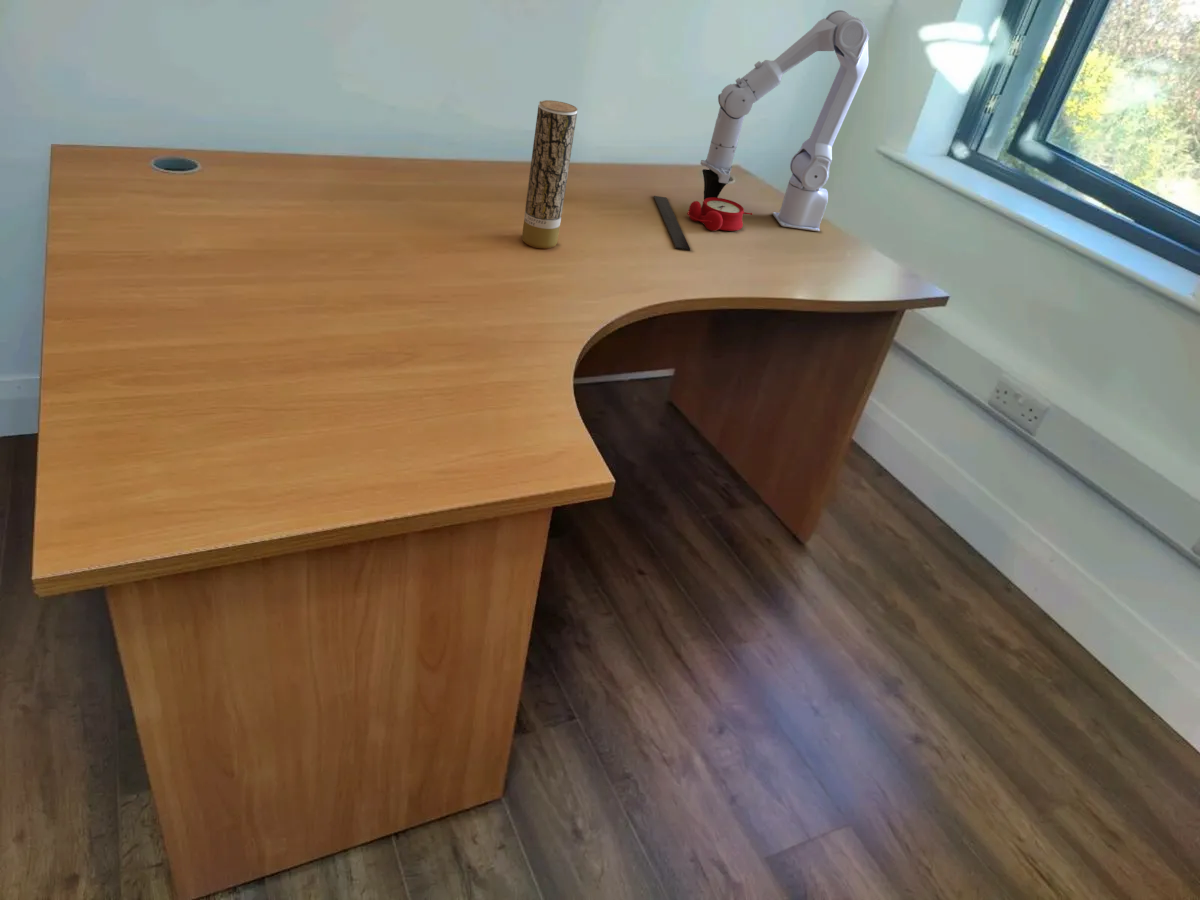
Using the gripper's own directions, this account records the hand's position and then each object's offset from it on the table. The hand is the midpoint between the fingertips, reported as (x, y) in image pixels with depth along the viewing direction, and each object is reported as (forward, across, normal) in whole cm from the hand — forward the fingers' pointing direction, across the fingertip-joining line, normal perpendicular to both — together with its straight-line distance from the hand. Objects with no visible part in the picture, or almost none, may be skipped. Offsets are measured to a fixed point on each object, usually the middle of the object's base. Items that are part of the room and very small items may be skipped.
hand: (708, 204), depth 190 cm
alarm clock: (+2, +8, 0) cm, 8 cm away
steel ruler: (+2, +11, -10) cm, 15 cm away
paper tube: (+2, +32, -40) cm, 51 cm away
